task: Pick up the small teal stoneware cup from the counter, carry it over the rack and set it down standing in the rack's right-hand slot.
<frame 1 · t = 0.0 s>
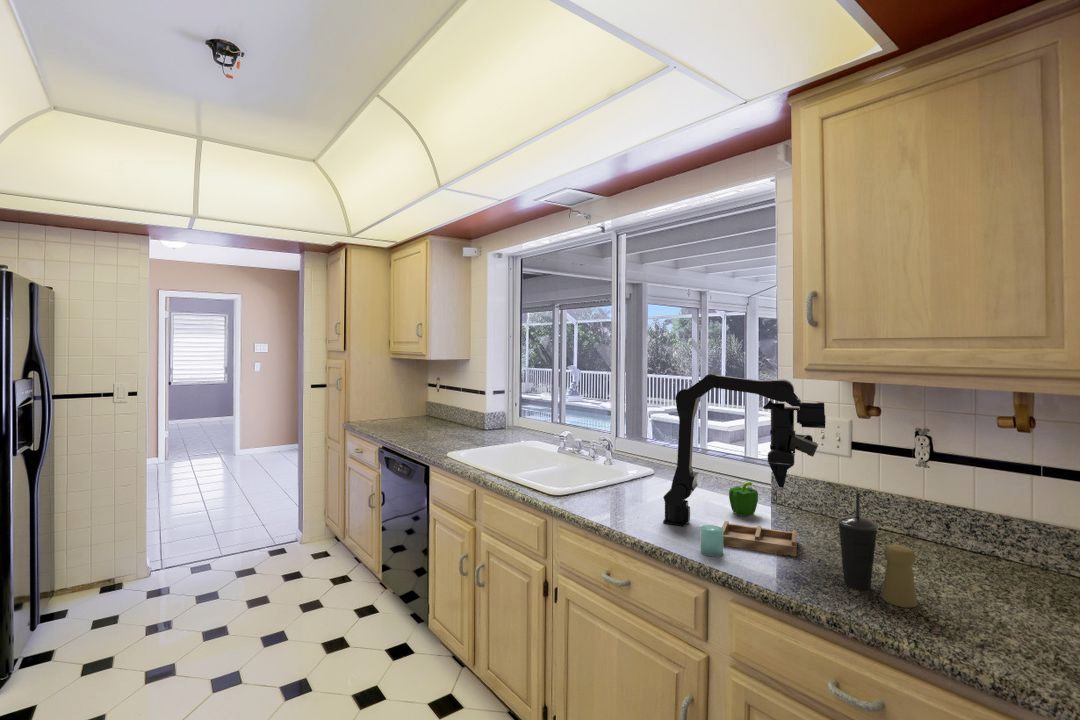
hand: (782, 483, 140), 15 cm above the worktop, tool pointing down, fingers open, 9 cm apart
rack: (758, 543, 136), on the worktop
cork: (899, 601, 105), on the worktop
drinking cup: (857, 585, 112), on the worktop
bell pepper: (743, 514, 160), on the worktop
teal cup: (711, 552, 131), on the worktop
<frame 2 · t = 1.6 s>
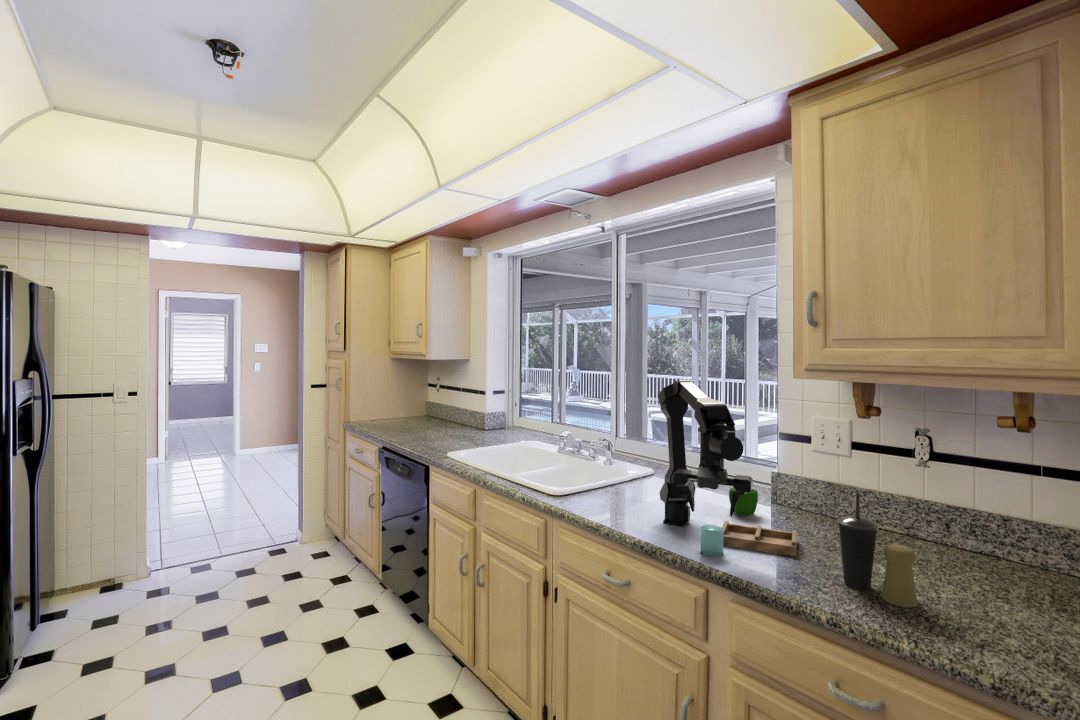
hand: (711, 513, 130), 10 cm above the worktop, tool pointing down, fingers open, 9 cm apart
nothing on the worktop moved.
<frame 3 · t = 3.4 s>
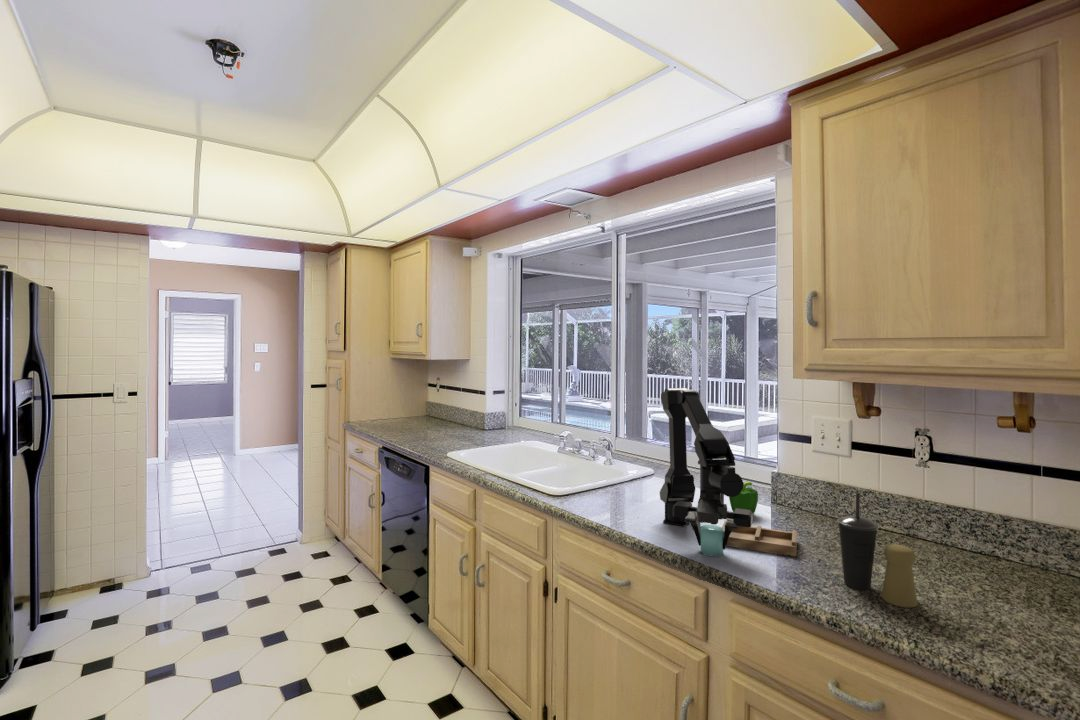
hand: (711, 547, 131), 1 cm above the worktop, tool pointing down, fingers closed on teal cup, 5 cm apart
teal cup: (711, 552, 131), on the worktop, touching gripper
everything else where it was.
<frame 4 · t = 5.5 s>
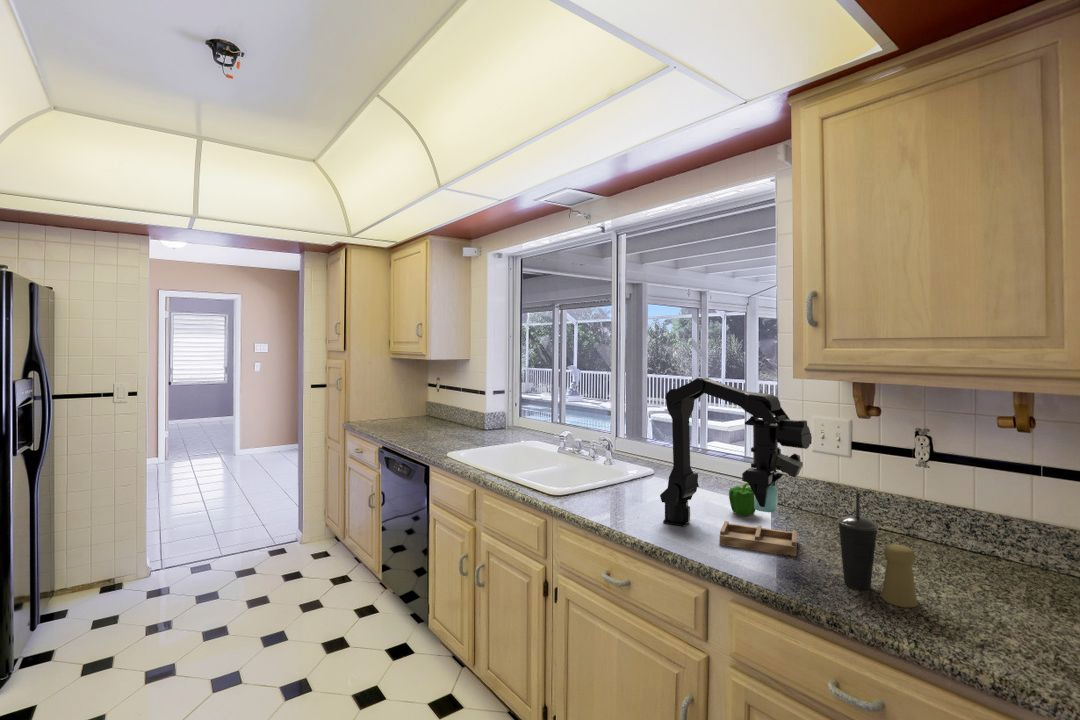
hand: (765, 504, 133), 11 cm above the worktop, tool pointing down, fingers closed on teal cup, 5 cm apart
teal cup: (765, 508, 133), point 10 cm above the worktop, touching gripper
everything else where it was.
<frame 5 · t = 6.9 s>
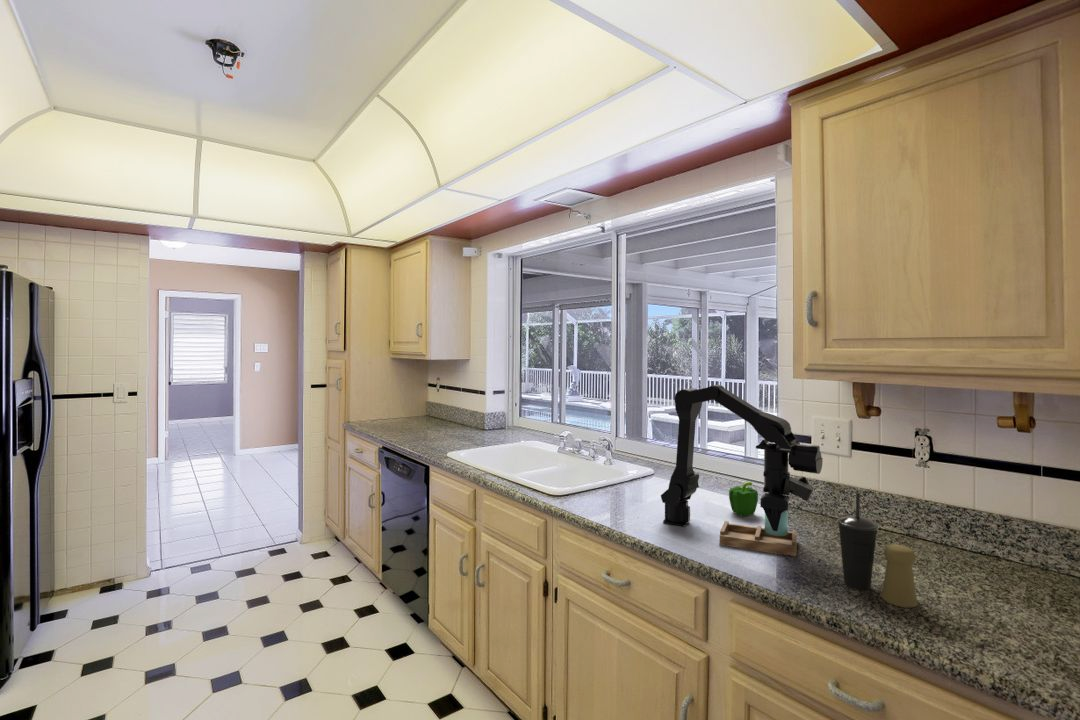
hand: (775, 527, 134), 5 cm above the worktop, tool pointing down, fingers closed on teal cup, 5 cm apart
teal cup: (776, 532, 134), point 4 cm above the worktop, touching gripper
everything else where it was.
when the fingers open (3 cm above the worktop, at t = 8.1 s): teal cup drops 1 cm, resting on rack.
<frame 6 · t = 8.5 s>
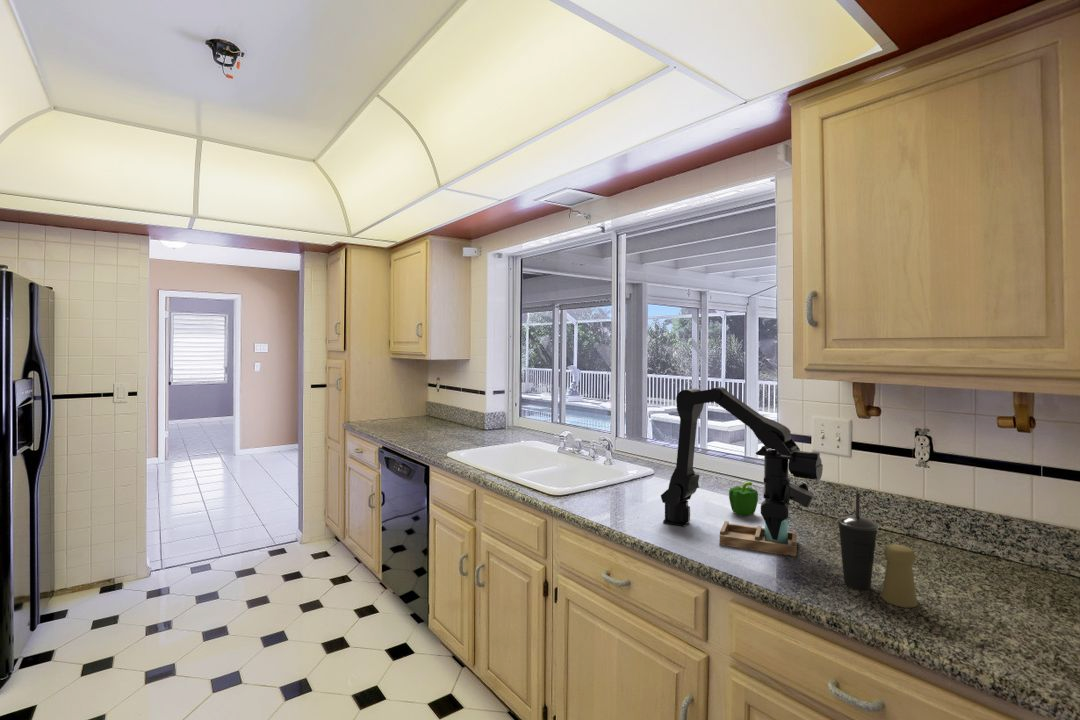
hand: (775, 533, 134), 3 cm above the worktop, tool pointing down, fingers open, 9 cm apart
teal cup: (776, 542, 134), point 1 cm above the worktop, touching rack
everything else where it was.
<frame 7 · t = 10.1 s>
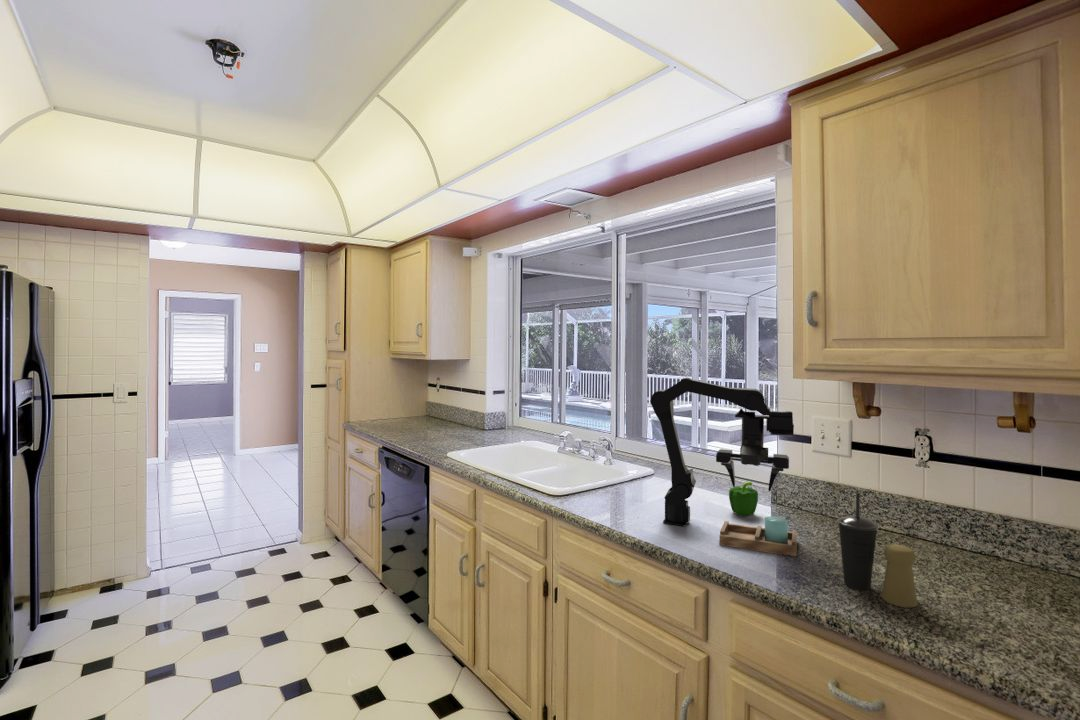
hand: (751, 489, 145), 12 cm above the worktop, tool pointing down, fingers open, 9 cm apart
nothing on the worktop moved.
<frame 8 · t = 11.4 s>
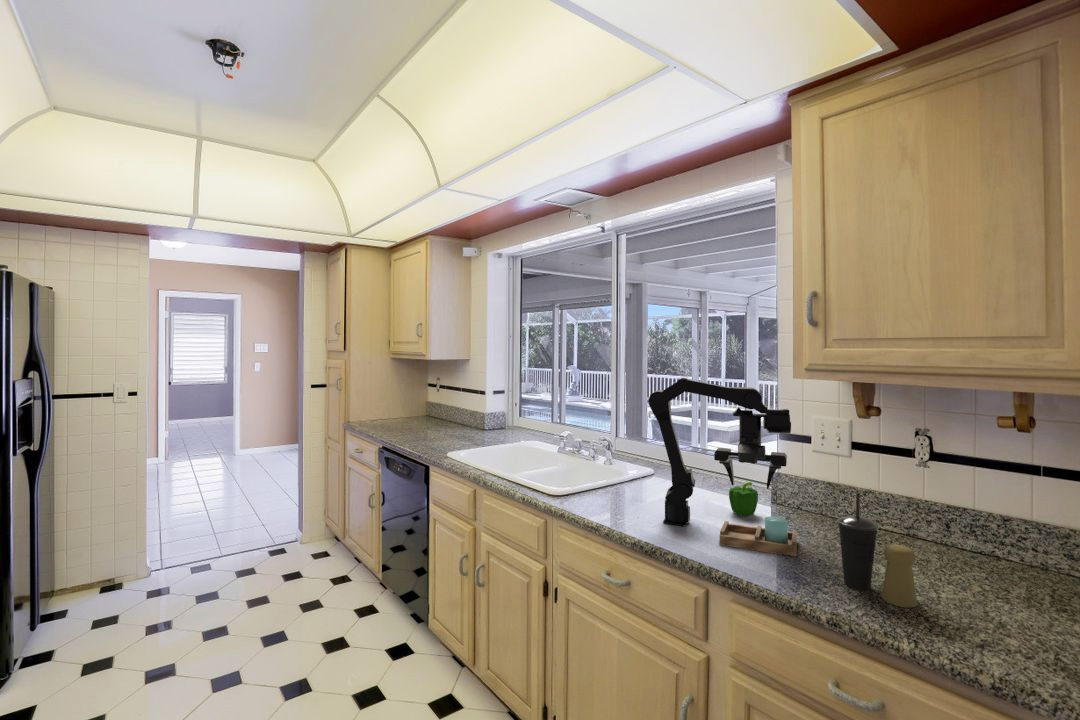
hand: (750, 486, 147), 12 cm above the worktop, tool pointing down, fingers open, 9 cm apart
nothing on the worktop moved.
at the end: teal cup inside the target area on the rack (0.0 cm from its centre), point 0.8 cm above the rack's base; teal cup tilted 0°; the gripper is holding nothing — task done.
